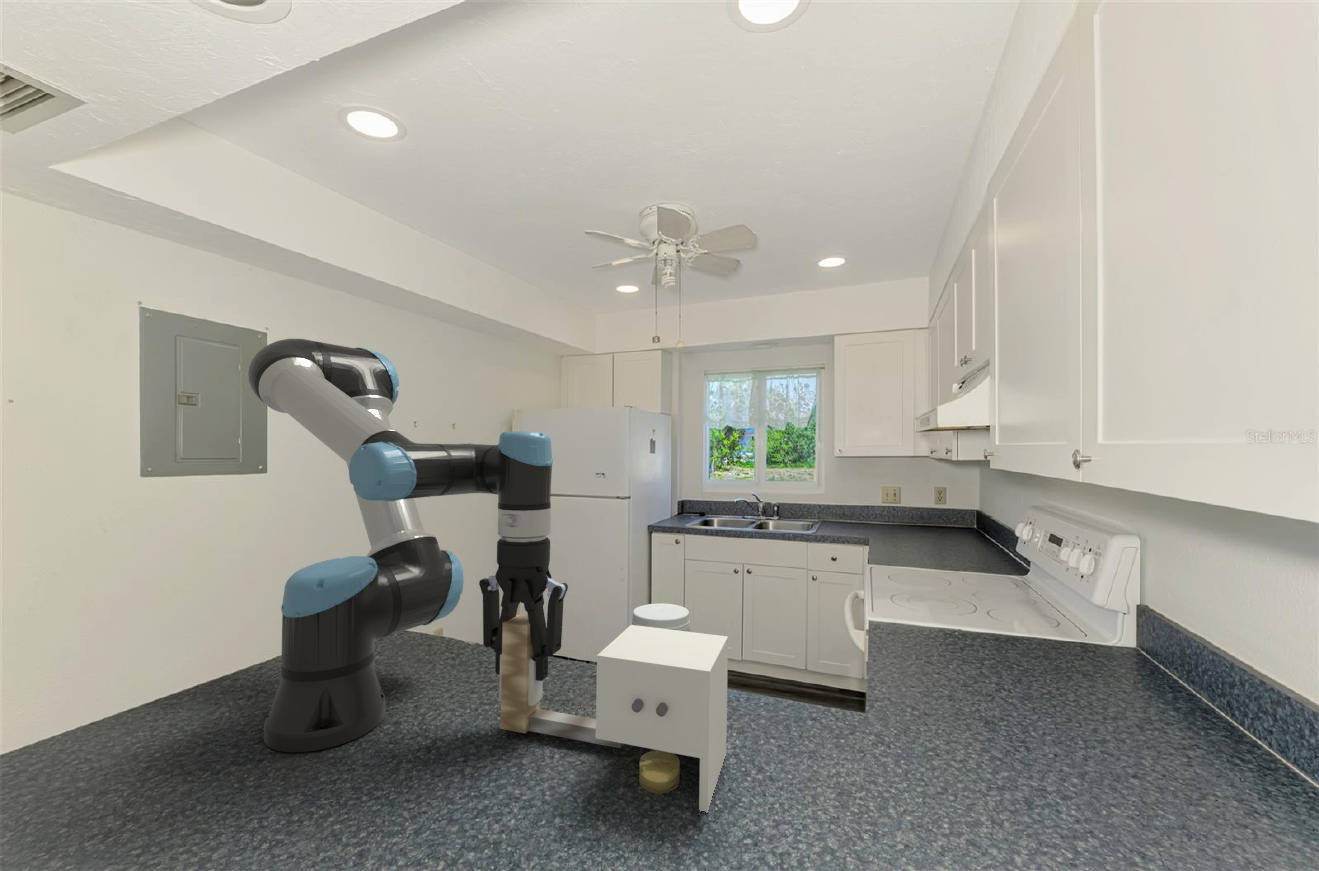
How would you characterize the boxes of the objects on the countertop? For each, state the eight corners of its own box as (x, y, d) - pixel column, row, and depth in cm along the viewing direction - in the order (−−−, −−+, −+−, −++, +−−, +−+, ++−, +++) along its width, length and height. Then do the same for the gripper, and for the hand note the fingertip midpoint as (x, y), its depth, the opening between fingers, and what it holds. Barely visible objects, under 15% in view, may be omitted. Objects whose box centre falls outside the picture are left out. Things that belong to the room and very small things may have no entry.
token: (633, 789, 66) (633, 768, 66) (646, 766, 71) (647, 747, 71) (672, 798, 64) (673, 776, 64) (683, 774, 69) (684, 754, 69)
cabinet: (591, 792, 65) (594, 658, 65) (628, 737, 77) (630, 624, 77) (705, 817, 61) (708, 674, 61) (726, 755, 73) (727, 636, 73)
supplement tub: (701, 706, 87) (702, 614, 87) (651, 721, 82) (653, 624, 82) (667, 683, 95) (668, 599, 95) (620, 696, 90) (621, 607, 90)
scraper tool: (500, 728, 77) (502, 622, 77) (515, 715, 81) (517, 614, 81) (618, 751, 72) (620, 637, 72) (628, 736, 76) (630, 628, 76)
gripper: (457, 537, 78) (454, 701, 77) (565, 545, 73) (561, 721, 72) (488, 529, 85) (485, 680, 85) (588, 536, 80) (585, 696, 79)
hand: (520, 698), depth 78 cm, fingers closed on scraper tool, 4 cm apart
